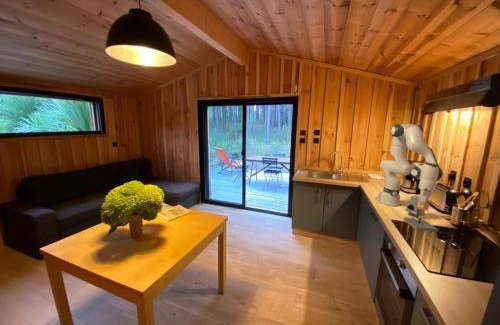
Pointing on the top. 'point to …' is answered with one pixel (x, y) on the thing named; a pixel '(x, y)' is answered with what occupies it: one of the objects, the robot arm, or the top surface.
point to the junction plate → (420, 224)
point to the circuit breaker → (414, 207)
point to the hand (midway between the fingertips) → (423, 206)
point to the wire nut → (426, 206)
